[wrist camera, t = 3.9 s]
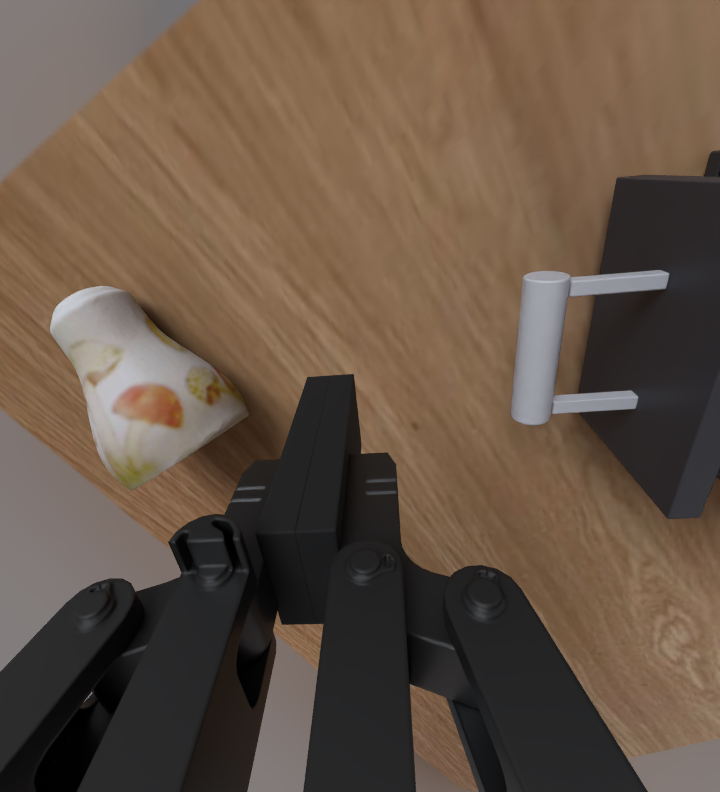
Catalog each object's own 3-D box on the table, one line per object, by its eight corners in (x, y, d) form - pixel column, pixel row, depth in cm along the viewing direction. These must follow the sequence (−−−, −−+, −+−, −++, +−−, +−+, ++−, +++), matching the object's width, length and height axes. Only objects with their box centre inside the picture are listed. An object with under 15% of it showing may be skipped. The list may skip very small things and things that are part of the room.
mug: (127, 231, 20) (141, 354, 14) (243, 351, 28) (286, 466, 22) (3, 315, 21) (-38, 473, 14) (151, 411, 28) (167, 542, 22)
